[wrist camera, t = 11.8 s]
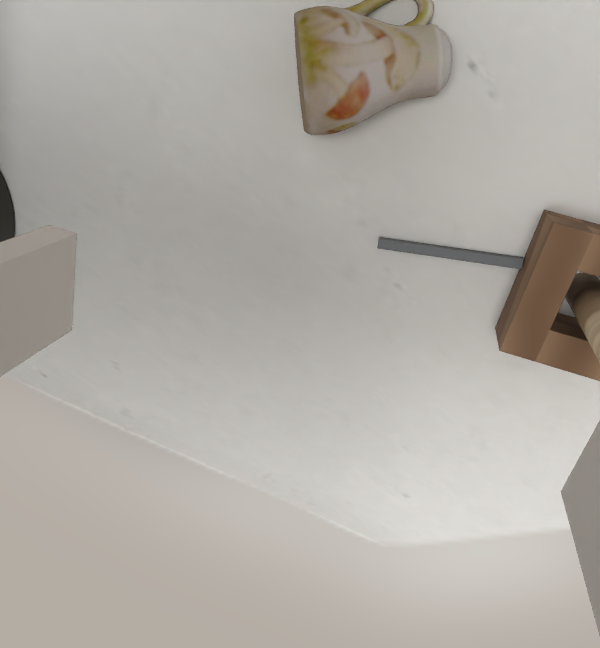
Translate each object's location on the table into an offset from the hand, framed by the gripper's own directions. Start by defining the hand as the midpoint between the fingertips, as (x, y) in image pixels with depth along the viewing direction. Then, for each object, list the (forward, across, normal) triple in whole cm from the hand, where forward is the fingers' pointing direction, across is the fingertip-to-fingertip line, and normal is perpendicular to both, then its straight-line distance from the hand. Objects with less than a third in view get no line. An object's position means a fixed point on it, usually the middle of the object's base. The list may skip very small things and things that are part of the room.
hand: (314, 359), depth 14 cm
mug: (+29, -4, +7) cm, 30 cm away
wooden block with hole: (+29, +14, -4) cm, 32 cm away
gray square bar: (+29, +4, -4) cm, 29 cm away
